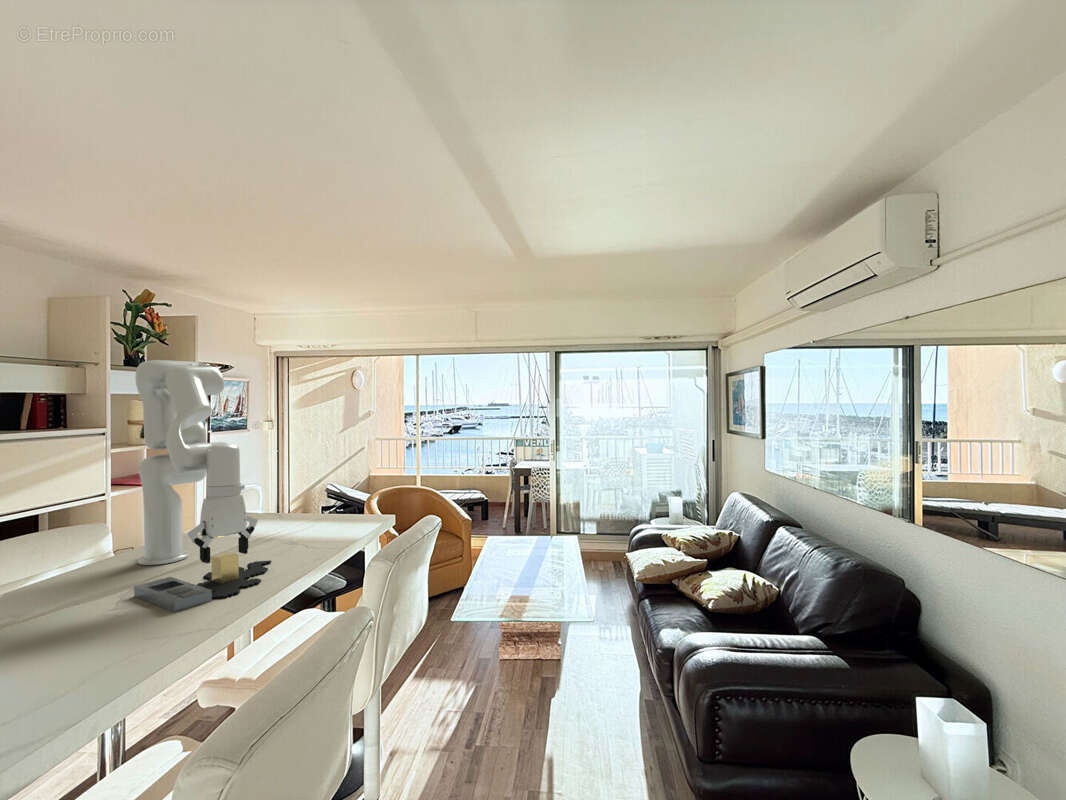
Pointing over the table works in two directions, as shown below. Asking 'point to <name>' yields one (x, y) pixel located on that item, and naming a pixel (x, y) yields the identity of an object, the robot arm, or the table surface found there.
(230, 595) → the black pixelated cutout
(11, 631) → the table surface
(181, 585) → the rail
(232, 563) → the block
